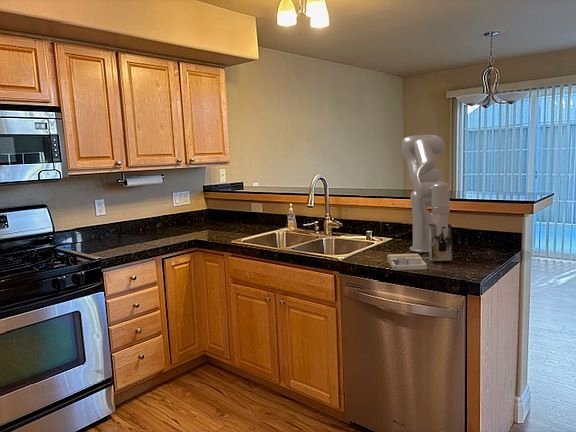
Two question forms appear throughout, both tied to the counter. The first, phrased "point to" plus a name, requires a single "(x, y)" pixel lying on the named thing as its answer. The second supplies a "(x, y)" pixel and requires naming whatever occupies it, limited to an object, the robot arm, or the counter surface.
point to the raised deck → (394, 257)
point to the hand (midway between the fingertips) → (440, 249)
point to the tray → (409, 266)
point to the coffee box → (434, 245)
